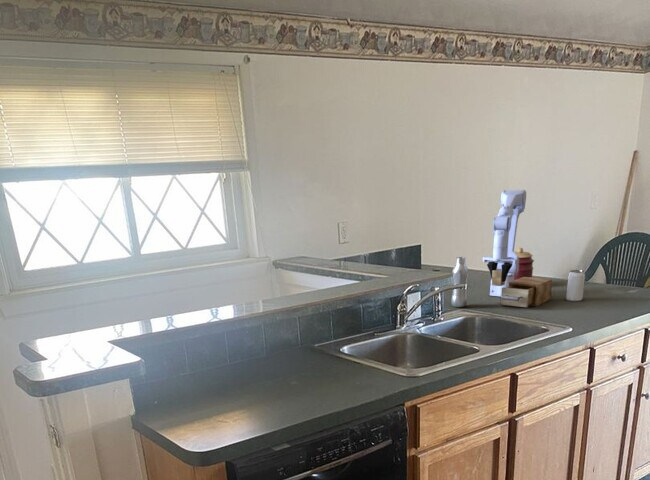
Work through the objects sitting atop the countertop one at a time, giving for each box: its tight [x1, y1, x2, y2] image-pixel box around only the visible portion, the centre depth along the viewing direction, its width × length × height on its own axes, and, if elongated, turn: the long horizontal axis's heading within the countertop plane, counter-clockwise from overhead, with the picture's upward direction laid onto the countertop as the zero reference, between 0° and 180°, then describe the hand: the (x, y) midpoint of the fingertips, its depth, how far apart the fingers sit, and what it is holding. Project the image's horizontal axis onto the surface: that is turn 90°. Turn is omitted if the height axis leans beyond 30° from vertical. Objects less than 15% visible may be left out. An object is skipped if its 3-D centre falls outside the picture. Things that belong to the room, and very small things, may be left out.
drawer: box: [500, 285, 536, 308], centre depth 267 cm, size 18×11×7 cm, turn 140°
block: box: [492, 269, 505, 286], centre depth 270 cm, size 4×4×6 cm
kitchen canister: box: [514, 247, 535, 280], centre depth 303 cm, size 13×13×18 cm
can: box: [565, 269, 586, 302], centre depth 272 cm, size 6×6×12 cm
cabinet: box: [509, 276, 553, 307], centre depth 274 cm, size 15×13×9 cm
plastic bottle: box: [450, 256, 469, 308], centre depth 267 cm, size 6×7×20 cm
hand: (498, 280), depth 270 cm, fingers closed on block, 4 cm apart
